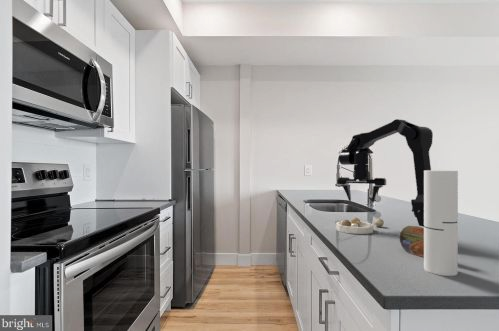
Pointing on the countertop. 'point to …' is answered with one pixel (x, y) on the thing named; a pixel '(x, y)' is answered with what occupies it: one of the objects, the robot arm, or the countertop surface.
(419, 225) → the robot arm
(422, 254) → the tin
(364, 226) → the groove tray
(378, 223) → the maple bead
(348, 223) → the walnut bead
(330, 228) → the countertop surface
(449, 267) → the cylindrical container
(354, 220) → the oak bead
